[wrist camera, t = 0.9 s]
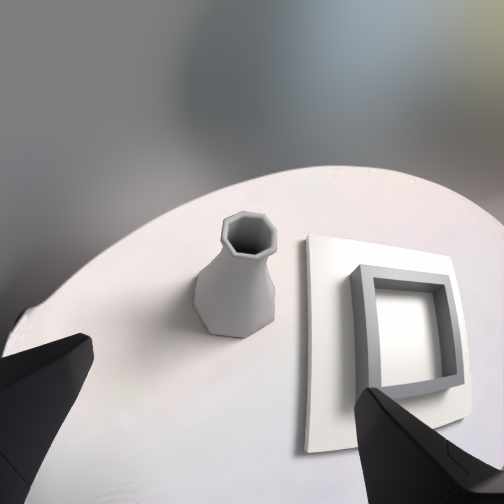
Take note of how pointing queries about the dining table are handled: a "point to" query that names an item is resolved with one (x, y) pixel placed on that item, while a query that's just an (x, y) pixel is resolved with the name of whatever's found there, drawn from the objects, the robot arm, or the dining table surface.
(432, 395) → the collar board
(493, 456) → the dining table surface
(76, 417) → the dining table surface
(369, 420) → the robot arm
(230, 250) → the flask
